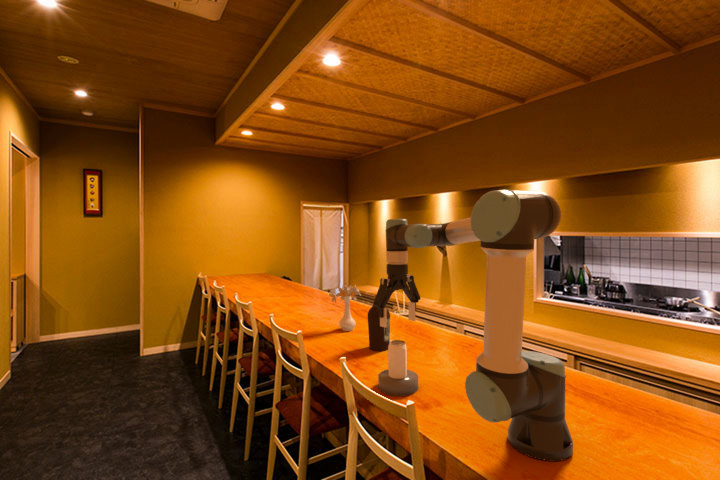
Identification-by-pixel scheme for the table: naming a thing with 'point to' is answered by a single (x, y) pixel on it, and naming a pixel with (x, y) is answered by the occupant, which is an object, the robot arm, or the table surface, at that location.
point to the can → (397, 359)
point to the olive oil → (378, 330)
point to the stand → (398, 384)
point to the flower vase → (346, 305)
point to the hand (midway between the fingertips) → (398, 323)
